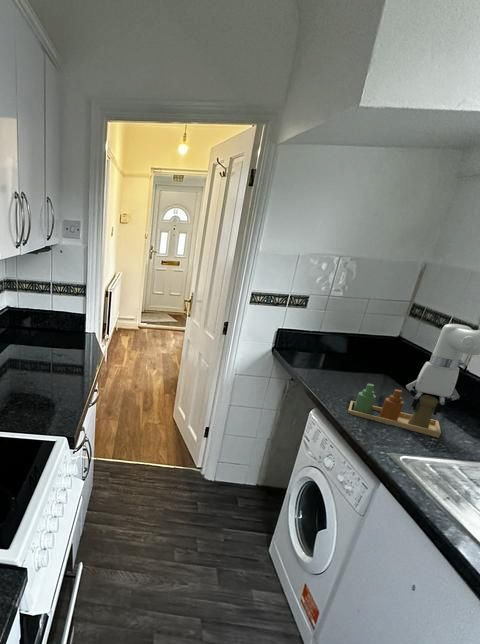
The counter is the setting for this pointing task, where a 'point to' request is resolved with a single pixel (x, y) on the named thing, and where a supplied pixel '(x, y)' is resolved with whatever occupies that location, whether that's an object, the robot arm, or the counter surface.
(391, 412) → the amber bottle
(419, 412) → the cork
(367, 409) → the green bottle
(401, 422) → the tray
